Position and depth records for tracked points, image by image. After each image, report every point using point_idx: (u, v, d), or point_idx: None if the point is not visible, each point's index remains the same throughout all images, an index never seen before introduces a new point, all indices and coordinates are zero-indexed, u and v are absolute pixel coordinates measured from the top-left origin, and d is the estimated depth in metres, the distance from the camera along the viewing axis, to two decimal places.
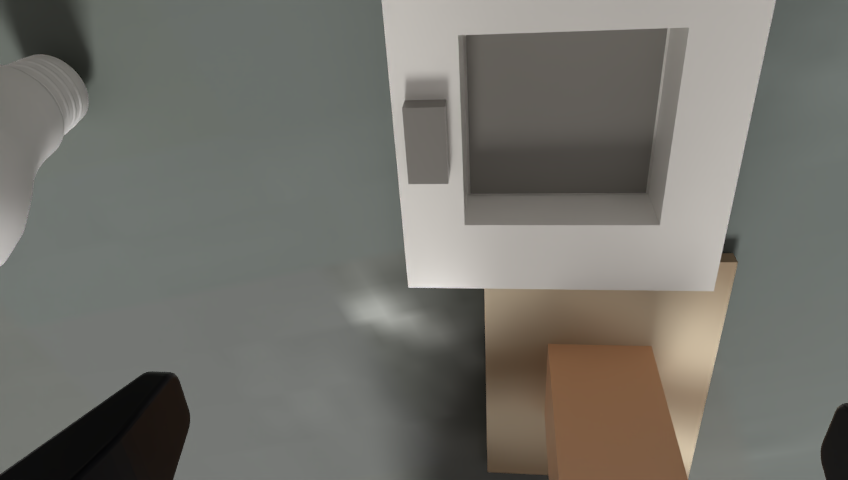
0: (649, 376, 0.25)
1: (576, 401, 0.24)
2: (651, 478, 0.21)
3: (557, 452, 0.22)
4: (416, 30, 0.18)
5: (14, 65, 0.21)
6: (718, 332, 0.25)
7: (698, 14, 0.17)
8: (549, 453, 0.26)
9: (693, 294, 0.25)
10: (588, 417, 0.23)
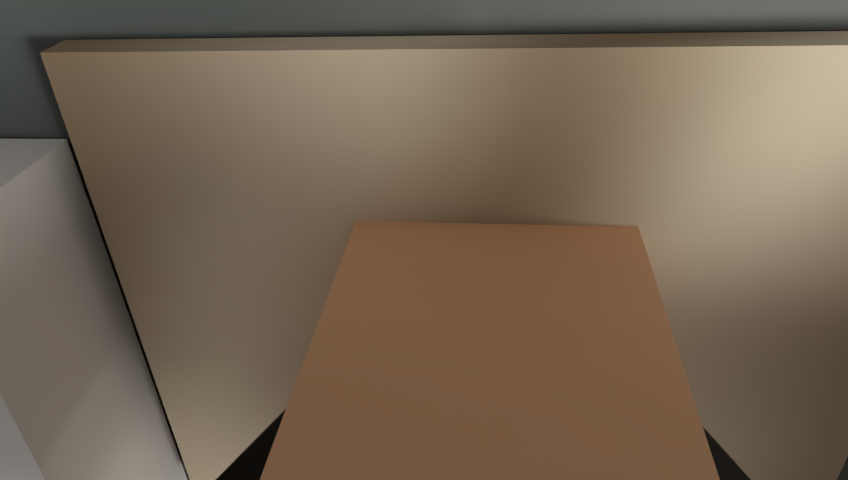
0: None
1: None
2: None
3: None
4: None
5: None
6: (279, 59, 0.08)
7: None
8: None
9: (168, 142, 0.09)
10: None
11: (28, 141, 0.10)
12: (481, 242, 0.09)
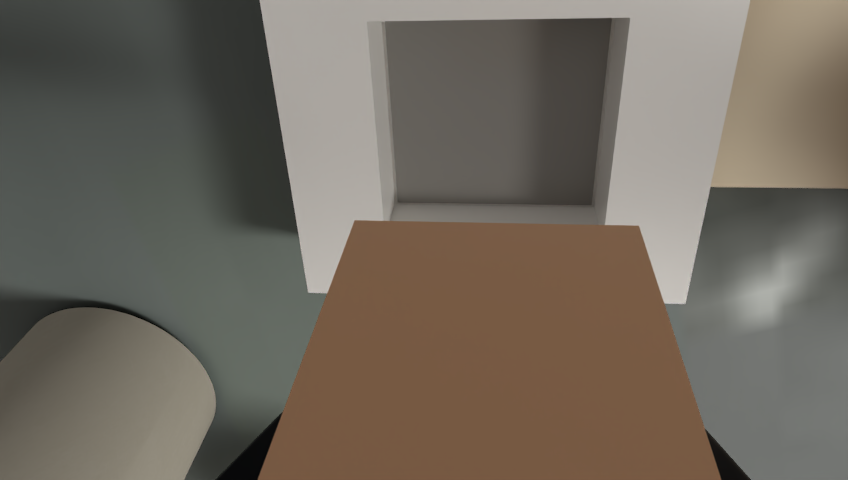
0: None
1: None
2: None
3: None
4: None
5: None
6: None
7: (352, 13, 0.15)
8: None
9: None
10: None
11: None
12: (480, 241, 0.09)
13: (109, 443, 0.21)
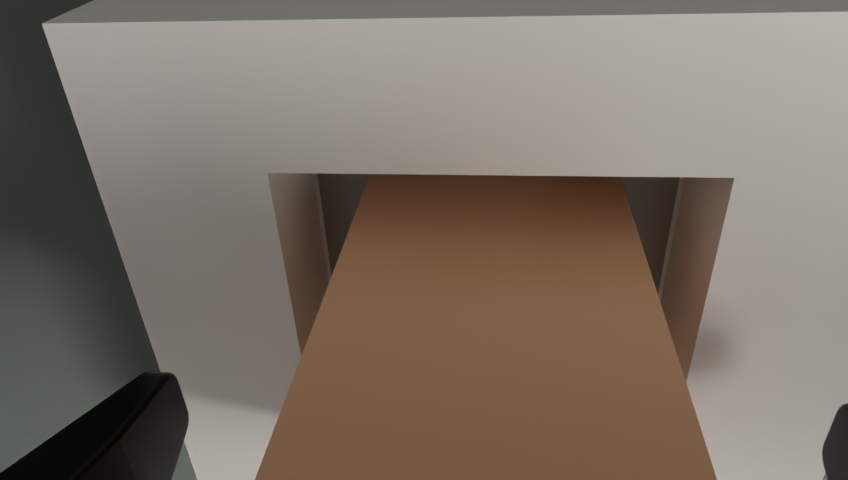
0: None
1: None
2: None
3: None
4: None
5: None
6: None
7: (241, 160, 0.09)
8: None
9: None
10: None
11: None
12: (481, 189, 0.10)
13: None
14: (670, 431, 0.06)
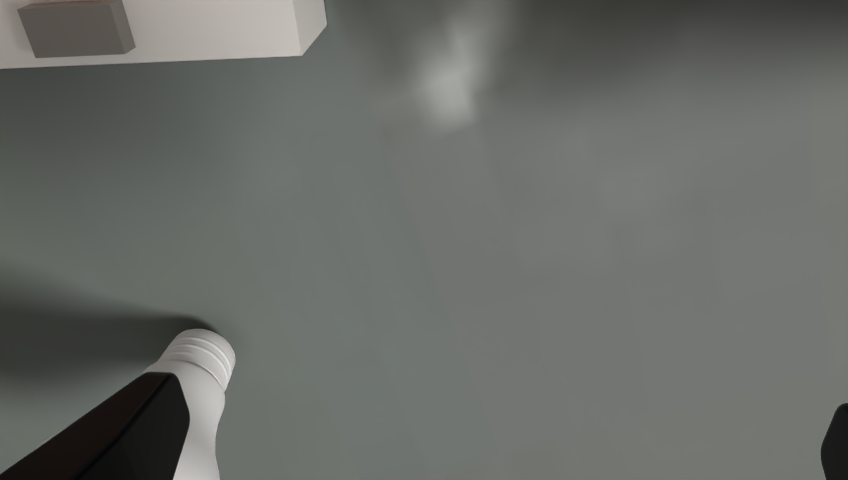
0: None
1: None
2: None
3: None
4: None
5: None
6: None
7: None
8: None
9: None
10: None
11: None
12: None
13: None
14: None
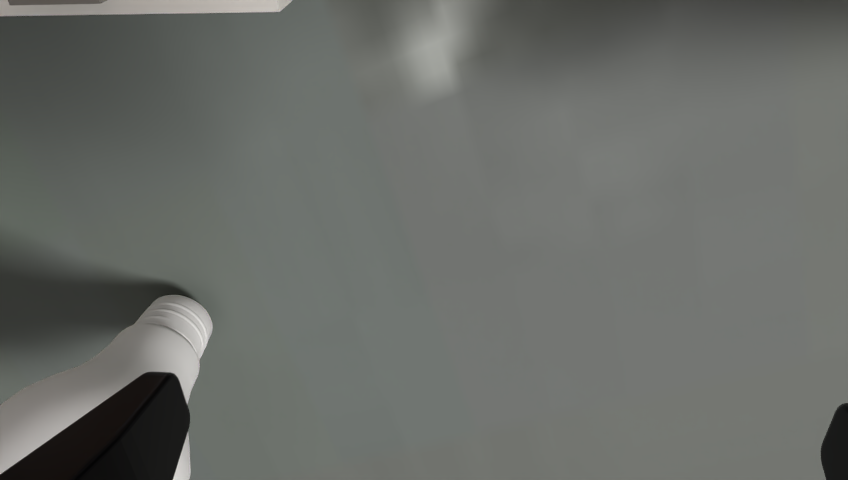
0: None
1: None
2: None
3: None
4: None
5: None
6: None
7: None
8: None
9: None
10: None
11: None
12: None
13: None
14: None
